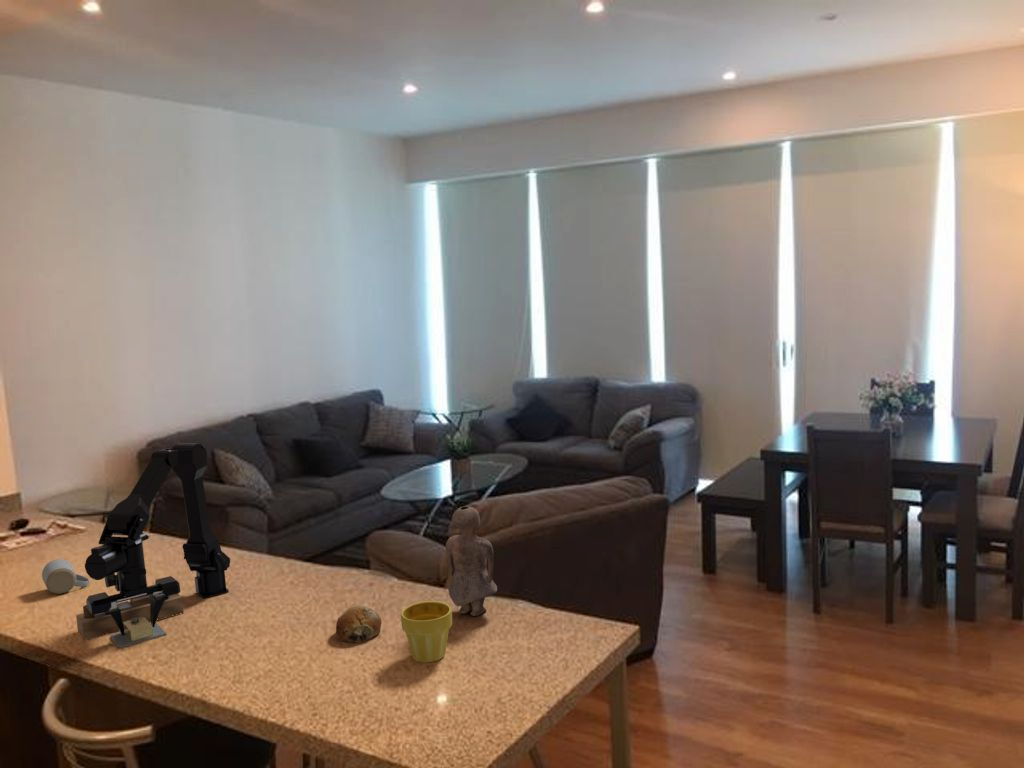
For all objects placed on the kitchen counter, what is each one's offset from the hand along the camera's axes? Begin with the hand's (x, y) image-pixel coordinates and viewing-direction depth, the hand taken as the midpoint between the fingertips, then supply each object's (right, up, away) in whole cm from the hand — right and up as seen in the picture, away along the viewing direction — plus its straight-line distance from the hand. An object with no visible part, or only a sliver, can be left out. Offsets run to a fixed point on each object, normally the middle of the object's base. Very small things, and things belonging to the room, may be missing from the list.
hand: (138, 630), depth 194 cm
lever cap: (0, -1, 0) cm, 1 cm away
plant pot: (+68, 0, -18) cm, 70 cm away
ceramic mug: (-34, +1, +34) cm, 48 cm away
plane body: (-5, 0, +9) cm, 10 cm away
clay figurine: (+76, +3, +4) cm, 76 cm away
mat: (0, -1, 0) cm, 1 cm away
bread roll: (+51, 0, -5) cm, 51 cm away
